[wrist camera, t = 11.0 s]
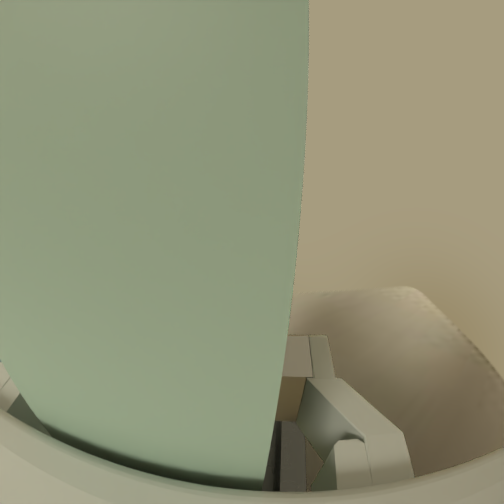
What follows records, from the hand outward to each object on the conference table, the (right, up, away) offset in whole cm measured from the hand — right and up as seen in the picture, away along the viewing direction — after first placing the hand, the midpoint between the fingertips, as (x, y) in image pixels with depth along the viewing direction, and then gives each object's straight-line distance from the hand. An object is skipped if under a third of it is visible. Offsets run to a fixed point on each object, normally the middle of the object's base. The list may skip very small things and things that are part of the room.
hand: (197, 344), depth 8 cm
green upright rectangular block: (0, -7, +5) cm, 9 cm away
